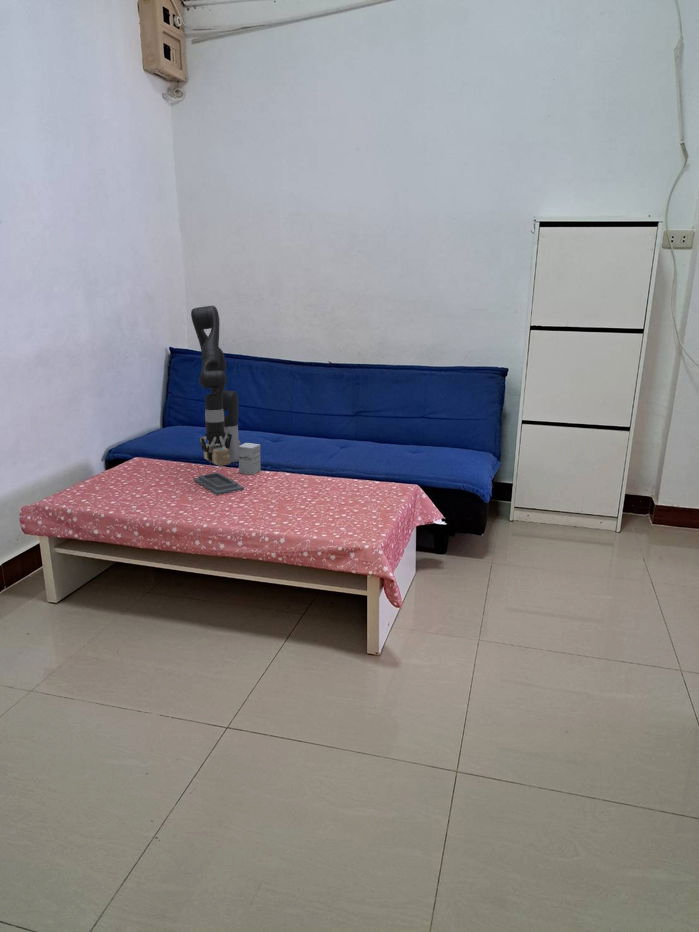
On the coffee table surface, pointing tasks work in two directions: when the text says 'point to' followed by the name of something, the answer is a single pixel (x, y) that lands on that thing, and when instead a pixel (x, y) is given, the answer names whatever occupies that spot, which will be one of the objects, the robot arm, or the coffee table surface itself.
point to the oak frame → (219, 455)
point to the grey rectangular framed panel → (218, 483)
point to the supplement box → (249, 458)
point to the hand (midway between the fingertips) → (216, 459)
